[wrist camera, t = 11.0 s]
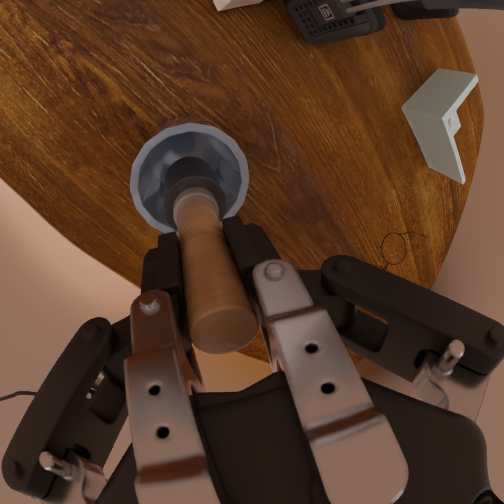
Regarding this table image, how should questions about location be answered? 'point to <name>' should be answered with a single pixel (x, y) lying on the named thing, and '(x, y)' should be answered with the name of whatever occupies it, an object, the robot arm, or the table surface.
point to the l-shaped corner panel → (439, 119)
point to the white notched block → (233, 3)
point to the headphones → (368, 15)
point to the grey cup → (179, 146)
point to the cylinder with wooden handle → (207, 259)
